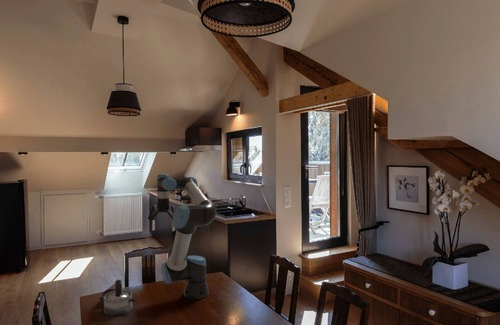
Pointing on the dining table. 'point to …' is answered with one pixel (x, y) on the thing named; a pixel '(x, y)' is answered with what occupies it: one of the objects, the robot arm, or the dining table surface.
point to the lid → (118, 291)
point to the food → (109, 290)
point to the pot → (117, 304)
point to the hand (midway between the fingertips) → (163, 230)
